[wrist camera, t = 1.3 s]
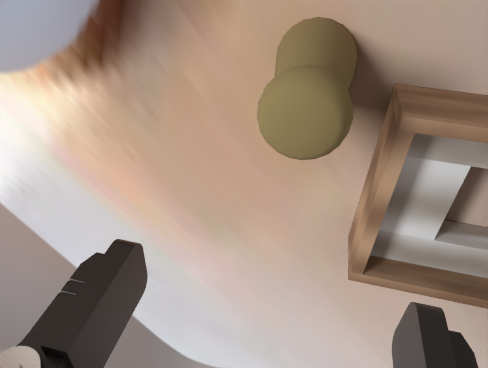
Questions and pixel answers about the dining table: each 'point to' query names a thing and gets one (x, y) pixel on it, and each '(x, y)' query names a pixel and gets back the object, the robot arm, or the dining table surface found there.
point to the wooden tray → (423, 198)
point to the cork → (310, 90)
